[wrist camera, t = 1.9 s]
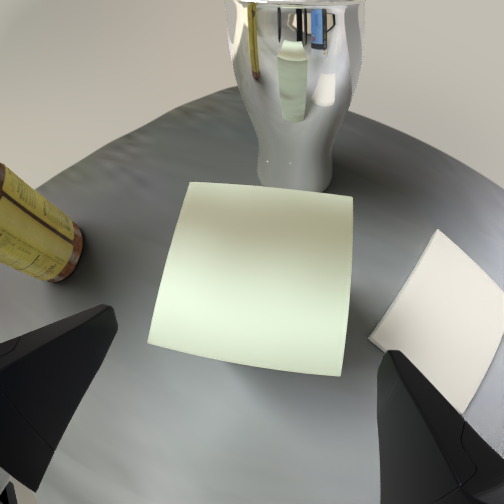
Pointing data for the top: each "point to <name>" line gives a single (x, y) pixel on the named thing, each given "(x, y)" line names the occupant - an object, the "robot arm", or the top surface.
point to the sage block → (258, 278)
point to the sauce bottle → (35, 232)
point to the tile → (446, 321)
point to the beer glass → (296, 81)
